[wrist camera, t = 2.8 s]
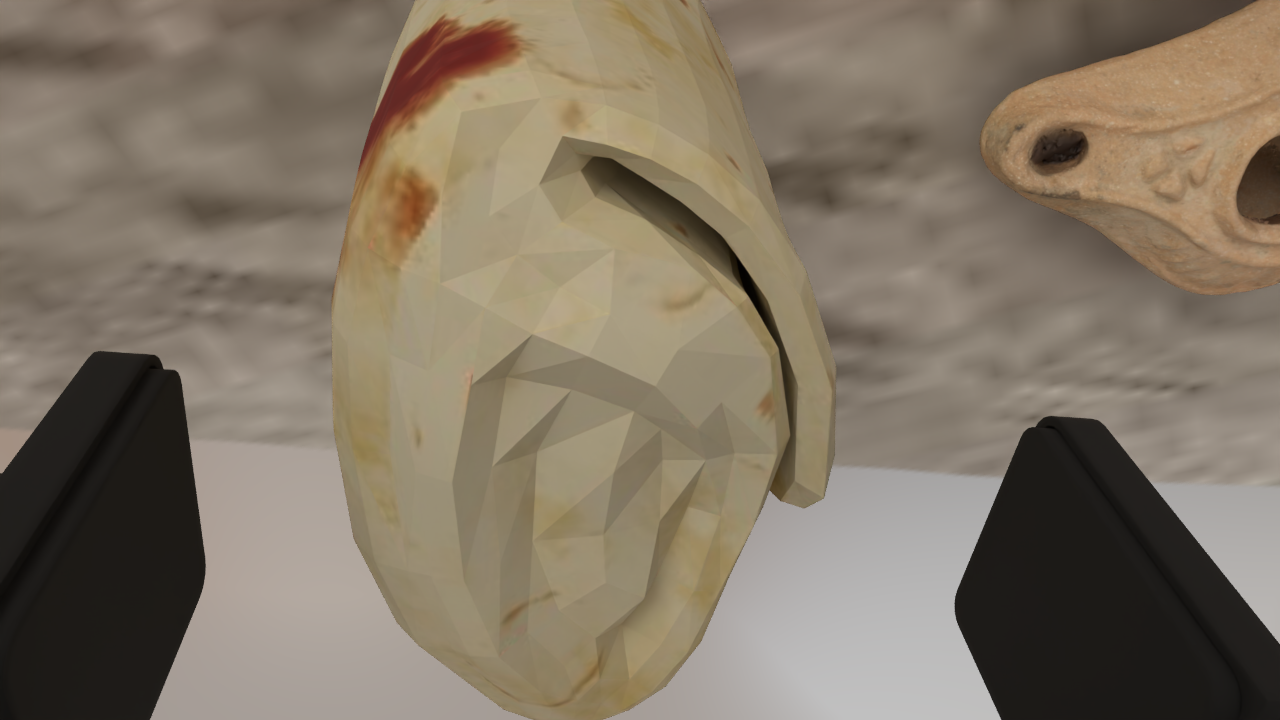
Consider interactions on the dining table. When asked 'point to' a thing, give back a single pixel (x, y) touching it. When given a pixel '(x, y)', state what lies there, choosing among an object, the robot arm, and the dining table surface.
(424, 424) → the food model
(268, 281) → the dining table surface
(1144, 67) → the pottery oil lamp
